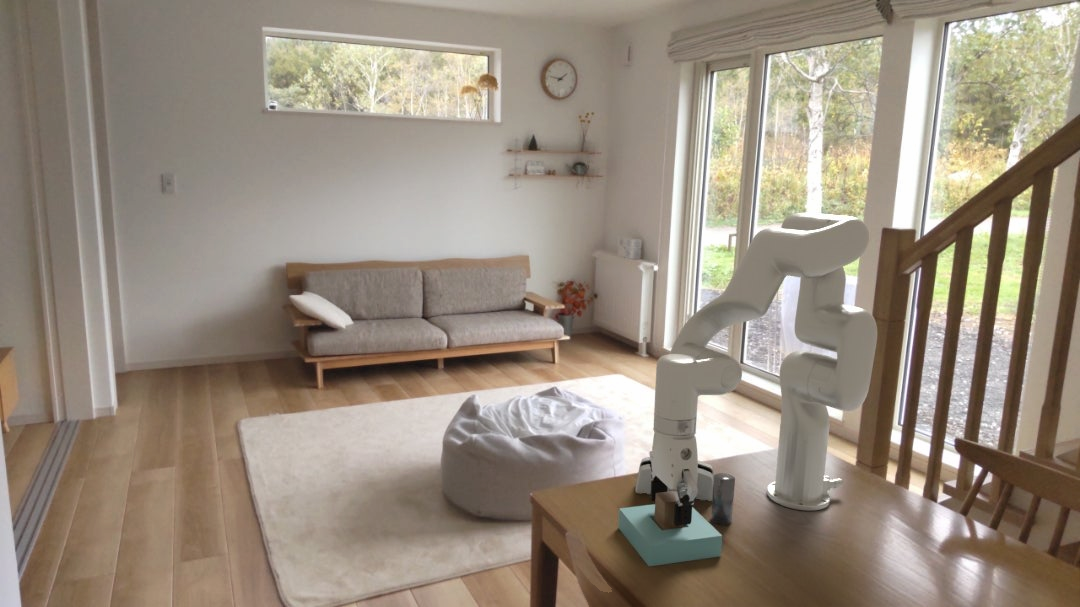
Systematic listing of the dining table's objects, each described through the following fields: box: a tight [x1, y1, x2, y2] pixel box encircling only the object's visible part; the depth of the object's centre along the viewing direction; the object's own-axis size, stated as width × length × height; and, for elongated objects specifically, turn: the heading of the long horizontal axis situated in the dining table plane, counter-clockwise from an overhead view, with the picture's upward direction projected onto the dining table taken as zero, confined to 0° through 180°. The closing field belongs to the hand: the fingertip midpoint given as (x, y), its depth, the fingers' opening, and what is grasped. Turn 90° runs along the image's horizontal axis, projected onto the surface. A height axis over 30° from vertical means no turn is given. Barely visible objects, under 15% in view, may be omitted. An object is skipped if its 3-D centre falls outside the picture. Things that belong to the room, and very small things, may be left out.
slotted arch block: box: [634, 456, 715, 502], centre depth 152 cm, size 17×5×10 cm, turn 78°
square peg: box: [654, 491, 684, 530], centre depth 133 cm, size 4×4×9 cm
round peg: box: [710, 472, 736, 526], centre depth 142 cm, size 4×4×9 cm
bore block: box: [617, 503, 723, 567], centre depth 133 cm, size 14×14×4 cm
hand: (670, 511), depth 133 cm, fingers open, 9 cm apart
